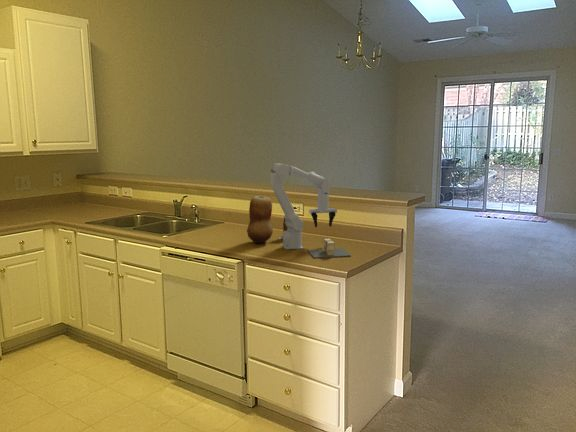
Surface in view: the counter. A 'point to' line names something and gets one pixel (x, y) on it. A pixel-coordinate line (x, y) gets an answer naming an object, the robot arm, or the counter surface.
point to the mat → (322, 254)
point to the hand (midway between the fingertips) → (323, 226)
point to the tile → (329, 246)
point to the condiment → (284, 228)
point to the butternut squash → (260, 219)
